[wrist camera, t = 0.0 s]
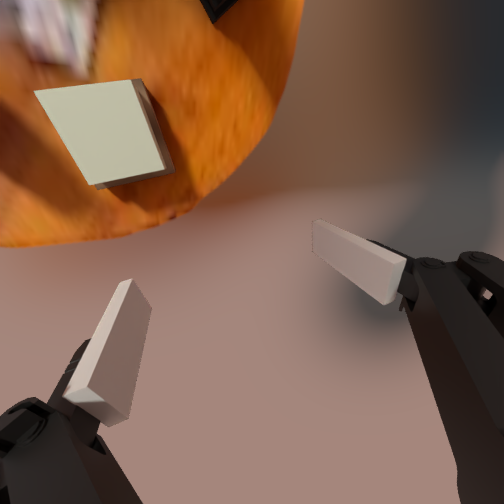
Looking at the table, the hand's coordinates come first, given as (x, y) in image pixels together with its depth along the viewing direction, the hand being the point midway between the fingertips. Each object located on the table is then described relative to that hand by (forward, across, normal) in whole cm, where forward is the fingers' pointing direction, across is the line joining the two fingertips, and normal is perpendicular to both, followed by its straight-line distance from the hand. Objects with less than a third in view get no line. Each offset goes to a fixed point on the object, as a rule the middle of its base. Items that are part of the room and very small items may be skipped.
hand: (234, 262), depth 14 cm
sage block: (+25, -9, +11) cm, 29 cm away
